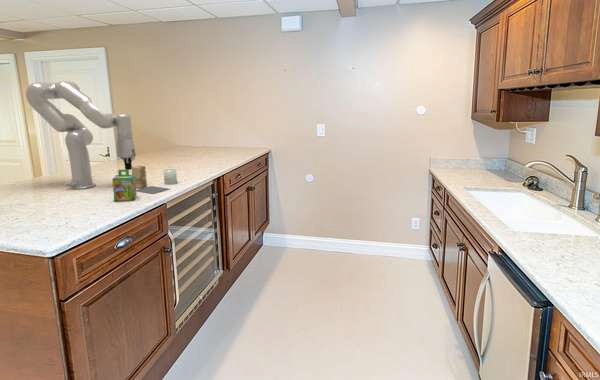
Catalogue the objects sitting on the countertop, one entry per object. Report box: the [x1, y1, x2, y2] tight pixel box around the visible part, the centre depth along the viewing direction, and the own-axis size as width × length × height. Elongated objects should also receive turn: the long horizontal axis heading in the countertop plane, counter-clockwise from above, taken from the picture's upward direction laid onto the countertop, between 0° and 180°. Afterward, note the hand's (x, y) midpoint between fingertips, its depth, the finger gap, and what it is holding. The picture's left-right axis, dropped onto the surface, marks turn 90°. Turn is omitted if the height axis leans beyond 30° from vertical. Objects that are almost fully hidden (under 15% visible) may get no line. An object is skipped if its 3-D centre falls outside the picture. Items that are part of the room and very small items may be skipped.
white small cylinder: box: [163, 168, 178, 186], centre depth 219 cm, size 7×7×8 cm
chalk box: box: [111, 168, 137, 202], centre depth 184 cm, size 9×9×15 cm
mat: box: [136, 185, 171, 195], centre depth 204 cm, size 12×14×1 cm
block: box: [131, 165, 148, 190], centre depth 208 cm, size 5×5×12 cm
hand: (128, 169), depth 210 cm, fingers closed
